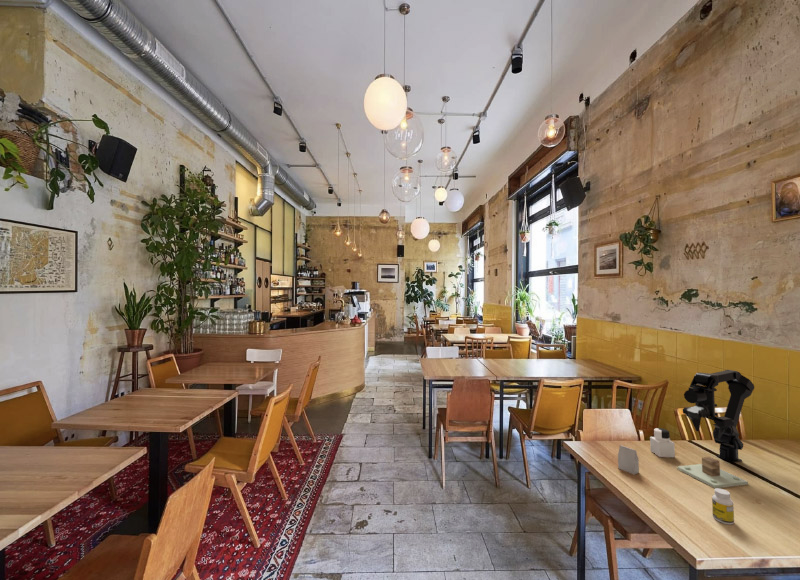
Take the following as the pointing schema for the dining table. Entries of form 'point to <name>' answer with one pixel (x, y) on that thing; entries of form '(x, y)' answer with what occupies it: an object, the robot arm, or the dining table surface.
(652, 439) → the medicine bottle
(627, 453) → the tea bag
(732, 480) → the baseplate
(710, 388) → the robot arm
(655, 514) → the dining table surface
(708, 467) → the brown rectangular block
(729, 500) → the supplement bottle
